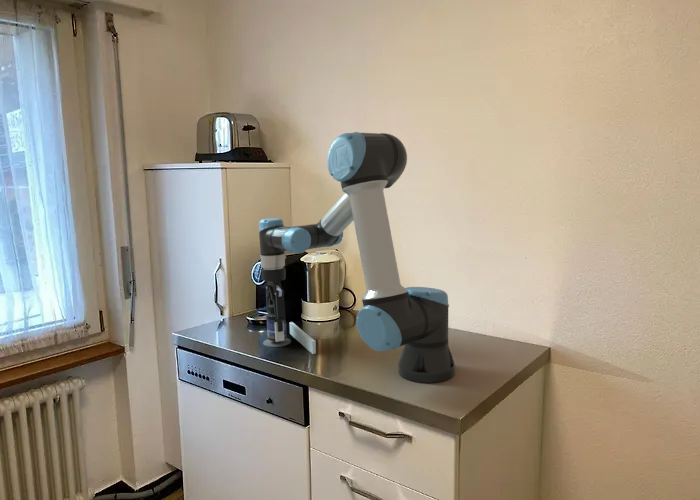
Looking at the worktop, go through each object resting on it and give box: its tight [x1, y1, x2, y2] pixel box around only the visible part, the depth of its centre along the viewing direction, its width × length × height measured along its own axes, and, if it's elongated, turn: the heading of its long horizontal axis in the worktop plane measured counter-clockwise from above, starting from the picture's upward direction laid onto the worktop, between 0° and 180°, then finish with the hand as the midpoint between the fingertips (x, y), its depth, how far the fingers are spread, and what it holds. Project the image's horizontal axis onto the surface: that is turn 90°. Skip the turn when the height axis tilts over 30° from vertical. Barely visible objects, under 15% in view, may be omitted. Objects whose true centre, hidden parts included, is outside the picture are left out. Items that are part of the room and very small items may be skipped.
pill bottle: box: [266, 304, 288, 341], centre depth 172 cm, size 6×6×11 cm
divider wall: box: [289, 321, 317, 355], centre depth 172 cm, size 23×1×4 cm, turn 24°
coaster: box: [262, 337, 292, 348], centre depth 173 cm, size 9×9×1 cm
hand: (277, 337), depth 173 cm, fingers closed on pill bottle, 6 cm apart
